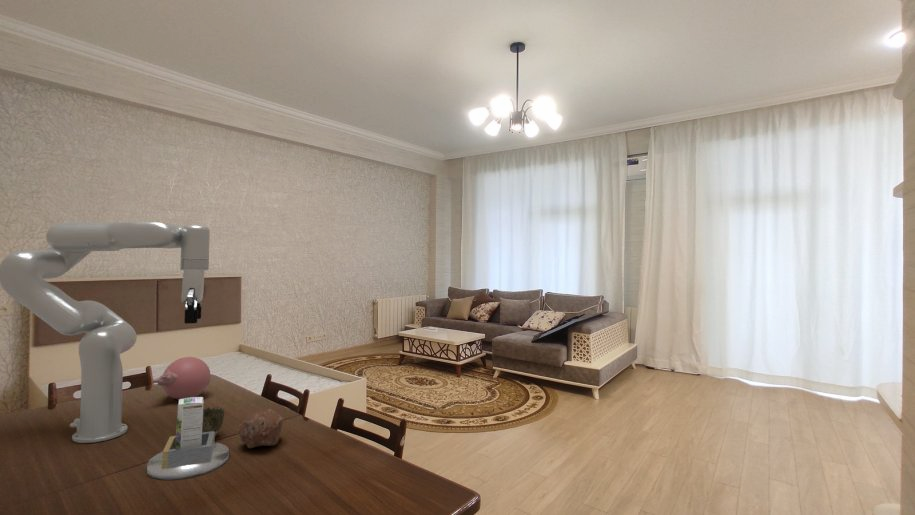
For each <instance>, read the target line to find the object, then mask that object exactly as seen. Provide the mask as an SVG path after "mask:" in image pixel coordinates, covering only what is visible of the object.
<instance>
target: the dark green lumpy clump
mask: <svg viewBox="0 0 915 515" xmlns="http://www.w3.org/2000/svg"><path fill="white" fill-rule="evenodd" d="M225 410H226V409H225V408H224V407H219V406H218V407H217V408H216V407H215V406H213V407H212V408H211V407H209V406H208V407H206V408H205V409H204V408H203V427H202V433H203V432H211V431H215V438H216V437H217V435H218V434H217V432H219V431H220V430H221V429H222V427H223V423H224V418H225V417H224V416H225Z"/></svg>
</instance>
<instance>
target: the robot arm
mask: <svg viewBox="0 0 915 515" xmlns="http://www.w3.org/2000/svg"><path fill="white" fill-rule="evenodd" d="M210 232H211V231H210V228H209V227H208V226H205V225H197V224H186V225H178V224H172V223H166V222H162V221H161V222H160V221H130V222H129V221H127V222H125V221H123V222H118V221H110V222H109V221H108V222H107V221H106V222H104V221H103V222H102V221H101V222H99V221H98V222H92V221H91V222H90V221H89V222H60V223H56V224H54V225H52V226H50V227H49V229H48V230H47V231H46V234H45V239H46V243H48V244H47V245H49V248H47V249H46V250H40V249H39V250H37V249H36V250H35V249H26V250H25V249H24V250H19V251H15V252H12V253H10V254H8V255H6V256H5V257H4V258H3V259H2V260H1V262H0V285H1V287H2V289H3V290H4V291H5V292H6V294H7V295H8V296H10V298H12V299H13V300H14V301H16V302H17V303H19V304H20V305H21V306H23V307H24V308H26V309H27V310H29V311H30V312H31V313H33V314H34V315H35V316H36V317H37V318H39V319H41V320H42V321H43V322H44V323H46V324H47V325H48V326H49V327H51V328H52V329H54V330H55V331H56V332H58V333H60V334H61V335H63V336H77V335H80V334H84V333H85V334H84V335H83V337H82V338H81V339H80V341H79V344H78V356H79V361H80V373H81V374H80V408H79V409H80V411H79V414H80V416H79V417H77V418H75V419H74V420H73V422H71V423H70V424H69V428H76V431H75V432H74V433H73V434H72V436H71V437H72V438H71V439H72V441H73V442H74V443H78V444H91V443H98V442H103V441H108V440H112V439H114V438H117V437H120V436H121V435H124V434H125V433H126V432H128V429H129V427H128V425H127V424H126V423H123V422H122V412H123V406H122V405H123V382H124V381H123V376H124V375H123V373H124V372H123V369H124V368H123V364H122V359H121V354H123V353H125V352H127V351H129V350H130V349H132V348H133V347H134V346H135V344H136V343H137V339H138V336H137V333H136V332H137V331H135V329H134V327H133V326H132V325H131V324H129V323H128V322H127V321H126V320H124V319H123V318H122V317H121V316H119V315H118V314H117V313H115V312H114V311H113V310H112V309H110V308H109V307H108V306H106V305H104V304H103V303H100V302H99V301H95V300H89V299H88V300H80V301H78V300H76V299H74V298H72V297H71V296H70V295H68V294H66V292H65V291H63V290H62V289H60V288H59V287H58V286H56V285H54V284H51V283H50V282H48V281H46V279H47V280H49V279H55V278H58V277H59V278H60V277H61V276H63V275H65V274H66V273H68V272H69V271H70V270H71V269H72V268H74V267H75V266H77V265H78V263H80V262H81V261H83V259H85V258H86V257H87V256H88V255H89V254H91V252H115V251H120V250H124V249H180V263H179V264H180V269H179V271H183V272H182V274H183V275H182V283H181V284H182V285H181V287H182V288H181V297H180V298H181V299H180V300H181V301H180V302H181V303H182V304H184V303H185V310H184V324H197V323H198V320H200V319H202V301H203V300H204V291H205V290H204V288H205V271H209V269H210V268H209V267H210V241H211V240H210V239H211V238H210V236H211V235H210V234H211V233H210Z"/></svg>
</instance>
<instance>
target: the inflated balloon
mask: <svg viewBox="0 0 915 515" xmlns="http://www.w3.org/2000/svg"><path fill="white" fill-rule="evenodd" d="M210 380H211V370H210V367H209V366H208V365H207V363H206V362H205V361H203V360H202V359H200V358H197V357H194V356H185V357H181V358H178V359H176V360H174V361H173V362H171V363H170V364H168V366H167V367H166V368H165V370H164V372H163V373H162V375H160V376H159V377H157V378H154V379H153V380H152V384H156V383H157V386H161V387H162V389H163V391H164V392H165V394H166V395H167V396H168V397H171V399H174V400H177V401H179V399H184V398H190V397H199V396H200V395H202V393H203V392H204V391H205V390H206V389H207V388H208V386H209V385H210V382H211V381H210Z"/></svg>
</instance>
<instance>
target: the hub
mask: <svg viewBox="0 0 915 515" xmlns="http://www.w3.org/2000/svg"><path fill="white" fill-rule="evenodd" d="M215 438H216V437H215V431H211V432H203V433H202V446H194V447H186V448H179V449H176V435H171V436H169V438H168V440H167V442H166V443H165V445H164V448H163V451H161V452H159V453H157V454H155V455H154V456H153V457H151V458H150V459H149V460H148V462H147V464H146V474H147V475H148V476H149V477H151V478H153V479H157V480H161V481H162V480H163V481H165V480H166V481H169V480H170V481H171V480H172V481H173V480H175V481H177V480H185V479H189V478H194V477H198V476H201V475H204V474H207V473H210V472H213V471H215V470H216V469H218V468H220V467H221V466H223V465H224V464H225V463H226V462H227V461H228V459H229V456H230V453H229V451H230V450H229V447H228V446H227V445H226V444H224V443H223V444H222V443H221V442H220V443H219V442H215Z"/></svg>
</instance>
